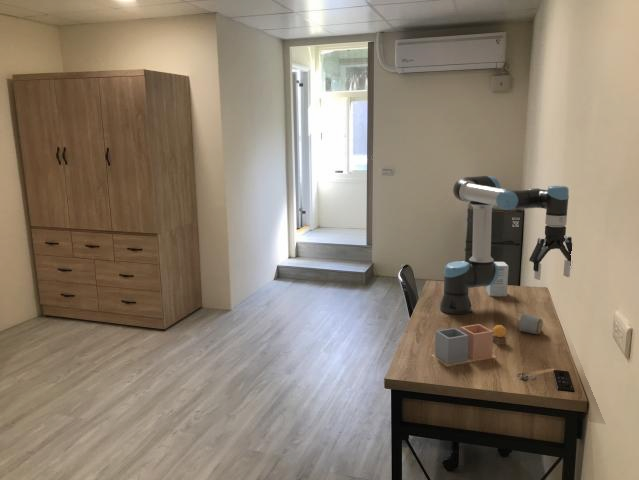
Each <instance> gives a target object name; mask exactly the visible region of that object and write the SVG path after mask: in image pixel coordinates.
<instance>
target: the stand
mask: <svg viewBox="0 0 639 480" xmlns="http://www.w3.org/2000/svg"><path fill="white" fill-rule="evenodd" d="M506 341H507V337H506V336H503V337H500V338H499V337H496V336H495V335H494V334H493V343H494V344H496V345H498V346H499V345H504V344H506Z"/></svg>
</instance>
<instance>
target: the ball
mask: <svg viewBox="0 0 639 480" xmlns="http://www.w3.org/2000/svg"><path fill="white" fill-rule="evenodd" d="M492 331H493V335H495V336H496V337H499V338H500V337H503V336H504V337H506V333H507V329H506V327H504V325H502V324H497V325H495V326H494V327H493V329H492Z"/></svg>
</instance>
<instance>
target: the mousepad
mask: <svg viewBox="0 0 639 480" xmlns="http://www.w3.org/2000/svg"><path fill="white" fill-rule="evenodd" d="M518 374H519V375H521V374H522V375H521V376H519V375H518V376H519V379H520V380H521V379H522V380H523V379H524V380H523V381H526V379H527V378H528V377H526V376H529V377H531V378H530V380H531V379H534V380H535V378H536V379H537V377H535V376H534V375H533V376H532V375H529V374H526V373H524V372H522V373H518ZM527 380H528V379H527Z"/></svg>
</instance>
